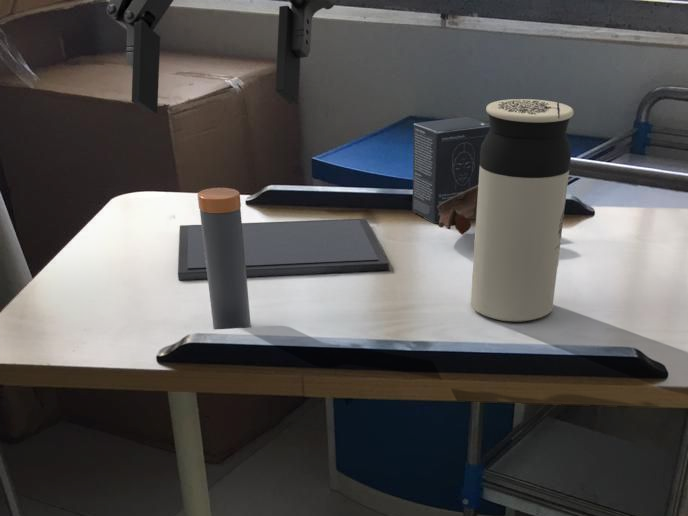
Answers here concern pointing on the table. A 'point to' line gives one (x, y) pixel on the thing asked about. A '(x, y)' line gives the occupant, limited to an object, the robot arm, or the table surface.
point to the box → (445, 161)
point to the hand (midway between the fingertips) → (213, 103)
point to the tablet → (291, 248)
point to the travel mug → (520, 209)
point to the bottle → (225, 257)
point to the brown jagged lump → (459, 210)
